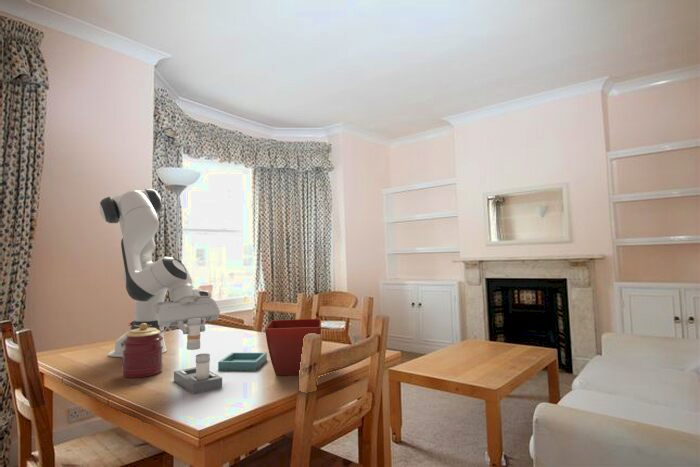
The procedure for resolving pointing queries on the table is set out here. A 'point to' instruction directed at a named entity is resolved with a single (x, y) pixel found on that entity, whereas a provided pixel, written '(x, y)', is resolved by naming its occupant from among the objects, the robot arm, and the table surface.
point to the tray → (242, 361)
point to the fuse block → (191, 384)
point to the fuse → (202, 366)
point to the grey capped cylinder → (193, 333)
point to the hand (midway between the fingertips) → (194, 331)
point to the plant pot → (288, 343)
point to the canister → (142, 352)
